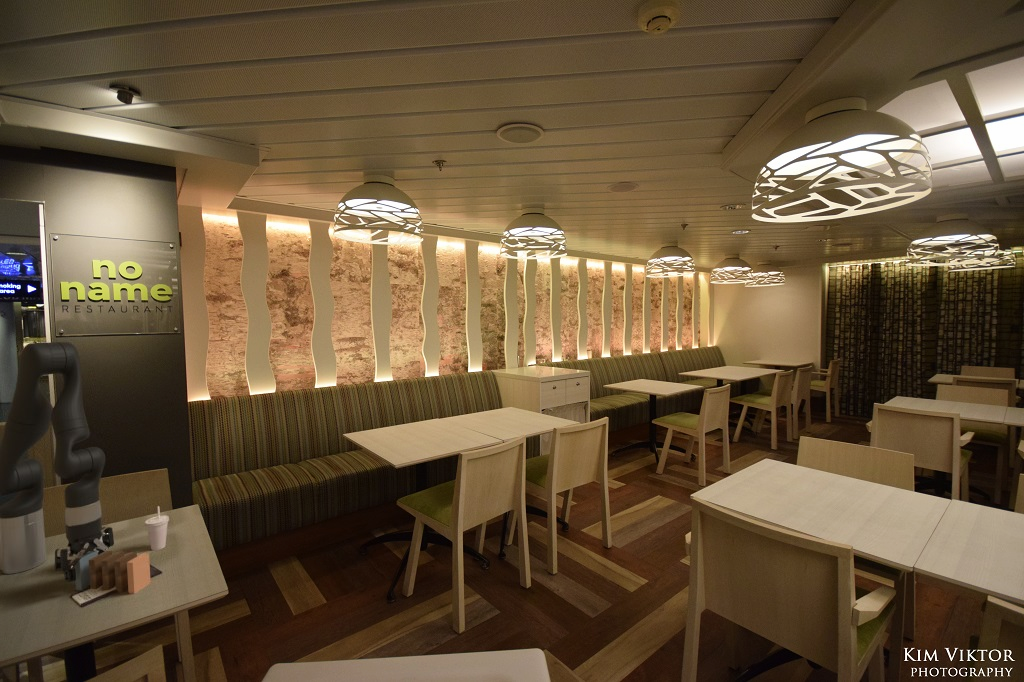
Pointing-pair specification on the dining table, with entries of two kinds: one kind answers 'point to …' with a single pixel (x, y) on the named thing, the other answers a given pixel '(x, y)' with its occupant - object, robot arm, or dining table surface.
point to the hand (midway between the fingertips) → (87, 572)
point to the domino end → (138, 573)
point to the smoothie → (157, 530)
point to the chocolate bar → (102, 591)
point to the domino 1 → (84, 570)
